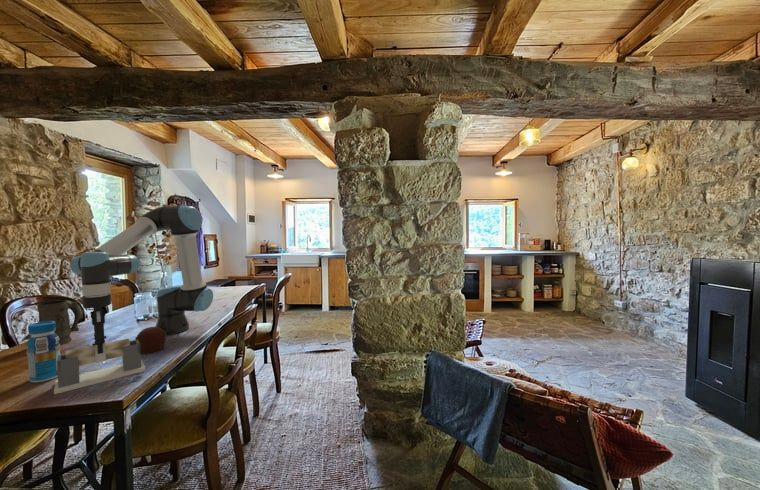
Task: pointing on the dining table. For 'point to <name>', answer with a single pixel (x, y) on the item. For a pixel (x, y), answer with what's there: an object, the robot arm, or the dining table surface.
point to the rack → (73, 379)
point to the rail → (88, 353)
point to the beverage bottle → (42, 351)
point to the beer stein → (60, 317)
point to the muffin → (151, 340)
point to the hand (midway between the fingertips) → (100, 359)
